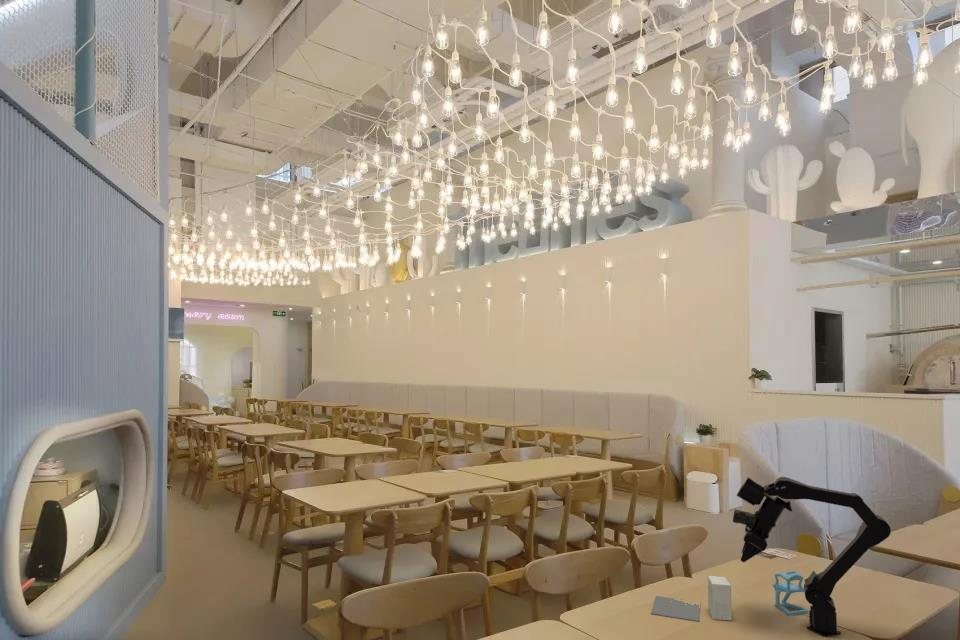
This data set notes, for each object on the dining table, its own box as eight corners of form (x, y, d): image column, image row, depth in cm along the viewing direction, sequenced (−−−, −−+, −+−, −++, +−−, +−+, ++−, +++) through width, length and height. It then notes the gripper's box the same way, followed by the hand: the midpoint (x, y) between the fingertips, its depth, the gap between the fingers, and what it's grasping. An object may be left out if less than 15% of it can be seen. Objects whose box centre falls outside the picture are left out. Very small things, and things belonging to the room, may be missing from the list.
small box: (731, 621, 187) (731, 585, 187) (712, 619, 188) (711, 583, 189) (726, 611, 194) (726, 576, 195) (707, 609, 196) (707, 575, 196)
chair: (788, 603, 202) (787, 565, 203) (808, 613, 195) (808, 573, 195) (769, 605, 200) (768, 567, 201) (789, 615, 192) (789, 575, 193)
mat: (700, 603, 200) (700, 602, 201) (699, 621, 186) (699, 620, 186) (655, 596, 206) (655, 595, 206) (651, 614, 191) (651, 613, 191)
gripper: (743, 494, 201) (719, 534, 203) (741, 505, 184) (715, 549, 186) (777, 514, 197) (752, 555, 199) (778, 527, 180) (751, 572, 182)
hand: (742, 557), depth 191 cm, fingers open, 9 cm apart
